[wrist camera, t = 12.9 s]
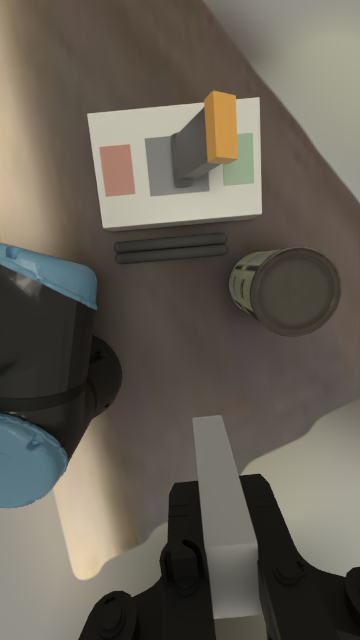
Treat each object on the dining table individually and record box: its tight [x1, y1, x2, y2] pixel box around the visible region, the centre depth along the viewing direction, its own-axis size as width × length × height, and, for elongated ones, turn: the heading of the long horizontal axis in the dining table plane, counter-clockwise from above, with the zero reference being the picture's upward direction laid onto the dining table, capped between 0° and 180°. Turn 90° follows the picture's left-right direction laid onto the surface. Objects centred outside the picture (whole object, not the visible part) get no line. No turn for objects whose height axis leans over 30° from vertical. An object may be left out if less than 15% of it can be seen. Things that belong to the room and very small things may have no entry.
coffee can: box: [229, 246, 341, 337], centre depth 38 cm, size 10×10×14 cm
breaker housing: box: [87, 97, 262, 232], centre depth 39 cm, size 22×14×5 cm, turn 95°
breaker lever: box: [170, 91, 238, 187], centre depth 31 cm, size 3×6×11 cm, turn 4°
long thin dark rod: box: [114, 233, 228, 264], centre depth 43 cm, size 18×3×2 cm, turn 95°
